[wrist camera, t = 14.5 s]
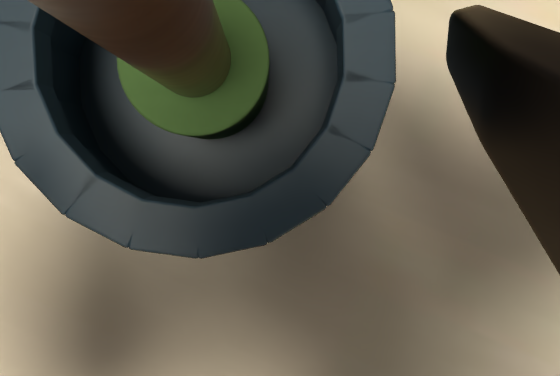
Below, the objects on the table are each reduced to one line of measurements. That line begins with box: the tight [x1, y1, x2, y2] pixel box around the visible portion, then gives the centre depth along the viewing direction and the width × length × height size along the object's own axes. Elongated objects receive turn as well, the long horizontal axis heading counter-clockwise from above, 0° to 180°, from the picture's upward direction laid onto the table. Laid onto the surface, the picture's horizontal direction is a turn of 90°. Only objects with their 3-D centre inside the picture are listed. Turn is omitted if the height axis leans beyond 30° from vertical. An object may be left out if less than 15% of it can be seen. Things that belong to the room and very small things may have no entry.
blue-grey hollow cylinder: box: [0, 0, 396, 259], centre depth 15 cm, size 9×9×6 cm
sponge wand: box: [28, 0, 270, 139], centre depth 10 cm, size 4×4×12 cm
